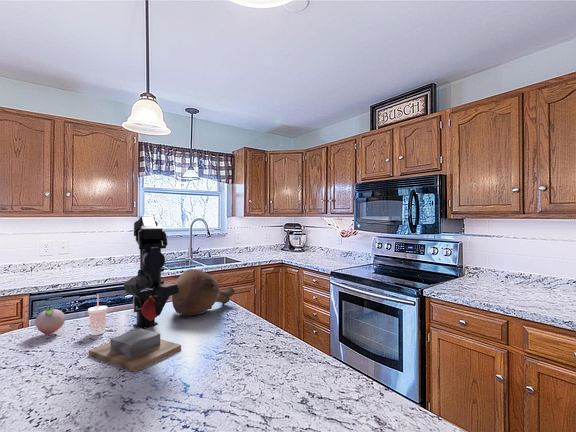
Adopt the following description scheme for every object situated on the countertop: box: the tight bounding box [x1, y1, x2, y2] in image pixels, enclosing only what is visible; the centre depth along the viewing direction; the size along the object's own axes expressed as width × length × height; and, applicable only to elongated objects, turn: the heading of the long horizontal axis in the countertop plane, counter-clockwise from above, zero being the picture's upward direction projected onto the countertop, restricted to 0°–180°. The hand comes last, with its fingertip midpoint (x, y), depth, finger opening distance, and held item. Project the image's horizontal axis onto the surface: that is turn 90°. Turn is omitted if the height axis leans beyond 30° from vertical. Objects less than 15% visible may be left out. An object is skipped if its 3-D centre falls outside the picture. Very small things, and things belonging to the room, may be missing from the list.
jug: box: [171, 268, 236, 316], centre depth 135 cm, size 20×20×30 cm
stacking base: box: [88, 328, 182, 373], centre depth 94 cm, size 22×16×5 cm
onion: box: [141, 296, 158, 321], centre depth 97 cm, size 6×6×8 cm
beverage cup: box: [87, 293, 108, 336], centre depth 110 cm, size 6×6×14 cm
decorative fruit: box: [34, 306, 66, 336], centre depth 108 cm, size 9×8×10 cm
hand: (151, 314), depth 97 cm, fingers closed on onion, 6 cm apart
